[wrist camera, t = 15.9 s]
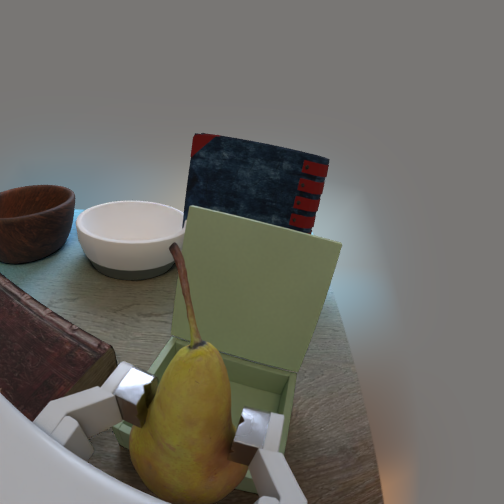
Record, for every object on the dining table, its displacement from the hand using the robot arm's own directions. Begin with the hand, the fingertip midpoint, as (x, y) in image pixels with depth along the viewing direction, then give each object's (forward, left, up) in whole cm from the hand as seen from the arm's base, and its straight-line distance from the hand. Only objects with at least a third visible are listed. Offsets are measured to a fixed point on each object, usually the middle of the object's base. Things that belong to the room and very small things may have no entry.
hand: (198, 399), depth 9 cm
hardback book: (+28, -2, -18) cm, 33 cm away
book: (+7, -46, -18) cm, 50 cm away
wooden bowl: (+52, -27, -18) cm, 61 cm away
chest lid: (+1, -17, -6) cm, 18 cm away
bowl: (+27, -36, -18) cm, 49 cm away
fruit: (0, +1, -7) cm, 7 cm away
